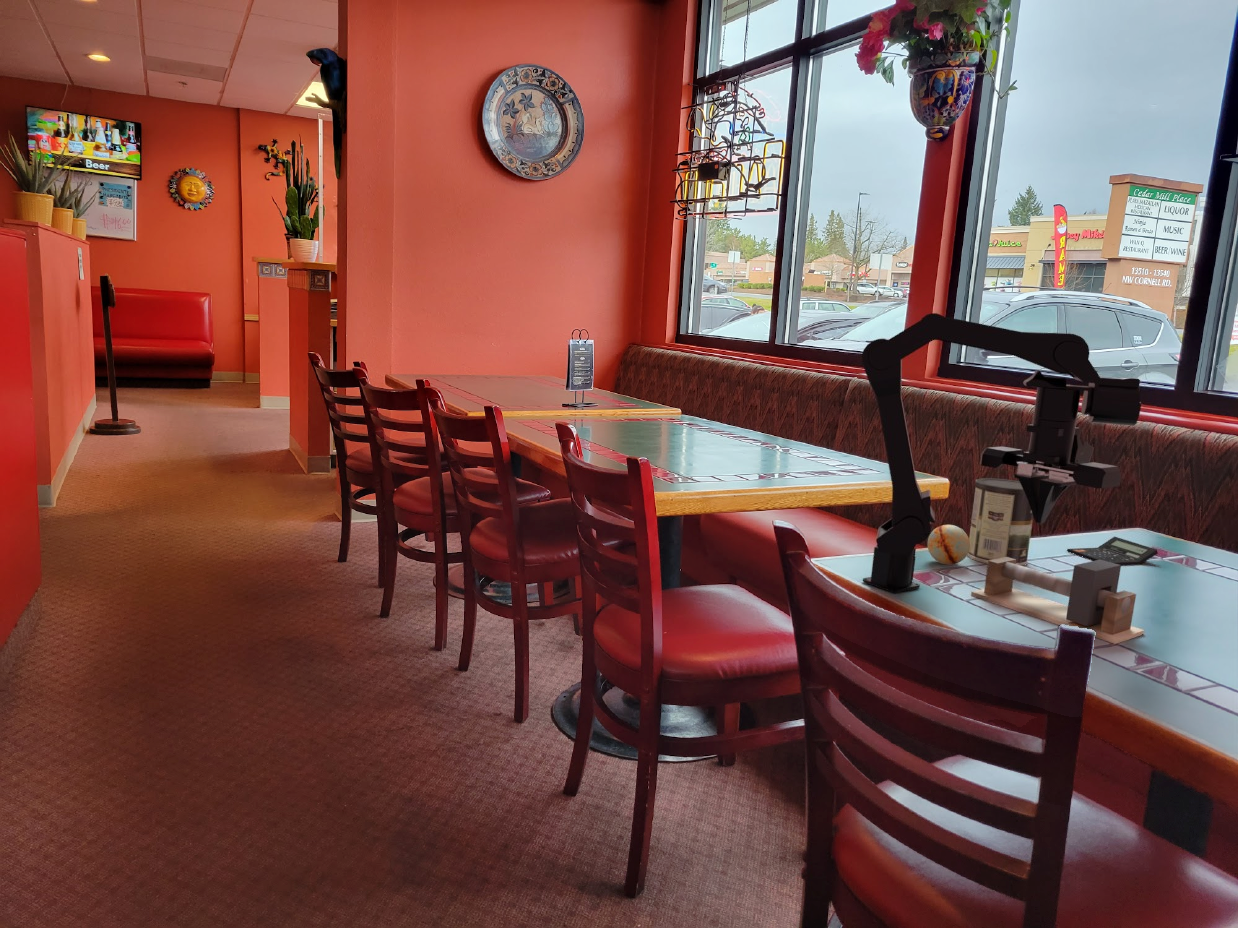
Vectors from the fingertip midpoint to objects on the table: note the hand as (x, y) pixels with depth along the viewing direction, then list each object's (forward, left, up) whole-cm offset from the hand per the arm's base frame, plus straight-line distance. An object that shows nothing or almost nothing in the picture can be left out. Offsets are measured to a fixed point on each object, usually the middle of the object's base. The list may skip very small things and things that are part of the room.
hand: (1039, 522), depth 129 cm
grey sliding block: (0, -9, -12) cm, 15 cm away
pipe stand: (0, -4, -13) cm, 14 cm away
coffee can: (+20, +18, -13) cm, 30 cm away
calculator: (+43, +9, -14) cm, 46 cm away
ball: (+8, +20, -13) cm, 25 cm away
